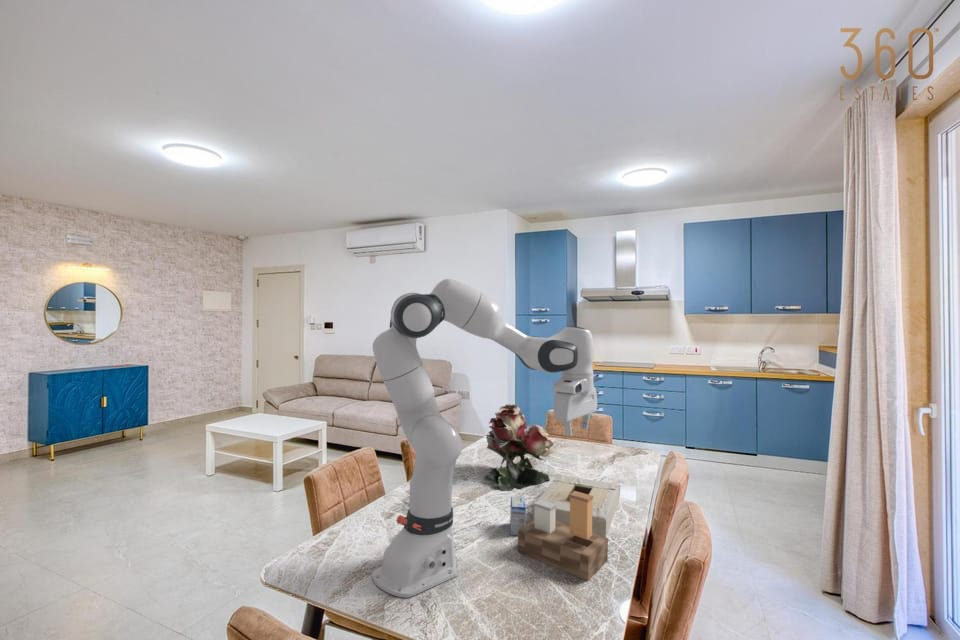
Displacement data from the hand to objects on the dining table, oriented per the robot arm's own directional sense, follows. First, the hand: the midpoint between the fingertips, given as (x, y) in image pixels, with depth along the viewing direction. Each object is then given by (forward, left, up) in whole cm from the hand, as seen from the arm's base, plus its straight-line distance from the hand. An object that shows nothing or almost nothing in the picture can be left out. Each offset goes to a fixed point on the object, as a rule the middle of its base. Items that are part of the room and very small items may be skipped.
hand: (576, 432), depth 123 cm
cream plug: (-6, +7, -31) cm, 32 cm away
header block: (-6, +1, -33) cm, 34 cm away
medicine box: (-1, +19, -33) cm, 38 cm away
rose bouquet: (+37, +47, -33) cm, 68 cm away
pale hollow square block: (+22, +10, -34) cm, 42 cm away
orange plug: (-6, -4, -25) cm, 26 cm away
